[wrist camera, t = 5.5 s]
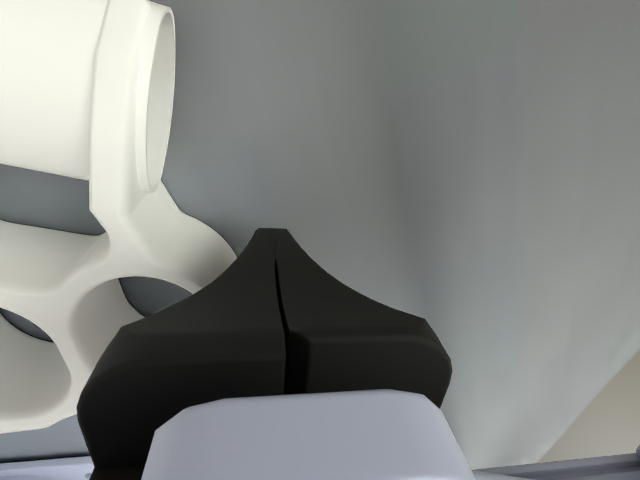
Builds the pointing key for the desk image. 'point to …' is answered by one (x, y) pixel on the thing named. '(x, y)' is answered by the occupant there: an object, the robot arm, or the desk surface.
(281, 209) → the desk surface
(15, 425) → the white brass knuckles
